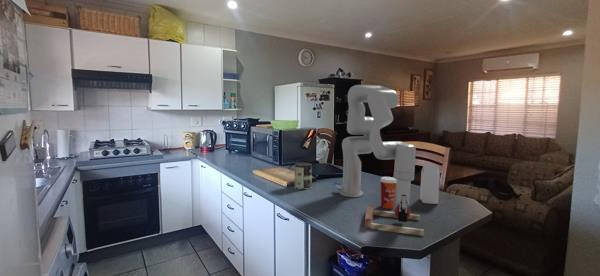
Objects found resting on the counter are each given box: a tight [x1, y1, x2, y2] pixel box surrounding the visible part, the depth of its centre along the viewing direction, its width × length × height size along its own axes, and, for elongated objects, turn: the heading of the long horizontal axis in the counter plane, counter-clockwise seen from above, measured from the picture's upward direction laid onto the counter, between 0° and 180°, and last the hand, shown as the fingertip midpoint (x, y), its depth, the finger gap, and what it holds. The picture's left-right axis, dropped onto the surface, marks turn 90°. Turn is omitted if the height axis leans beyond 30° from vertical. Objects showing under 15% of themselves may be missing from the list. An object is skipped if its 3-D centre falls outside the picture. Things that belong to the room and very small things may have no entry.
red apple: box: [394, 205, 411, 220], centre depth 116 cm, size 6×6×8 cm
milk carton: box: [419, 163, 441, 205], centre depth 144 cm, size 7×7×19 cm
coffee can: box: [293, 162, 313, 190], centre depth 168 cm, size 10×10×14 cm
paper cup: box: [380, 176, 397, 210], centre depth 136 cm, size 8×8×14 cm
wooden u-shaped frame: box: [364, 204, 425, 236], centre depth 117 cm, size 21×16×4 cm
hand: (401, 217), depth 116 cm, fingers closed on red apple, 5 cm apart
